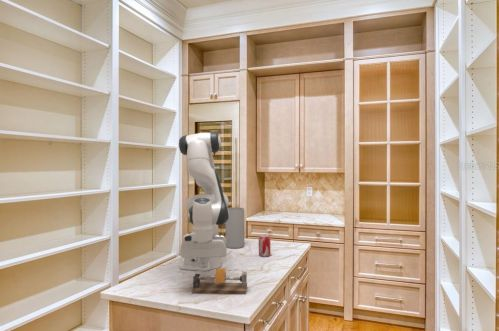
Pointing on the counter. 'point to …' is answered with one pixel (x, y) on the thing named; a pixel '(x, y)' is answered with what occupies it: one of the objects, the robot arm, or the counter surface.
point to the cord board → (219, 285)
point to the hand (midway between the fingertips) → (204, 267)
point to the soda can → (264, 245)
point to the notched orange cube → (220, 275)
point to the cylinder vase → (235, 228)
